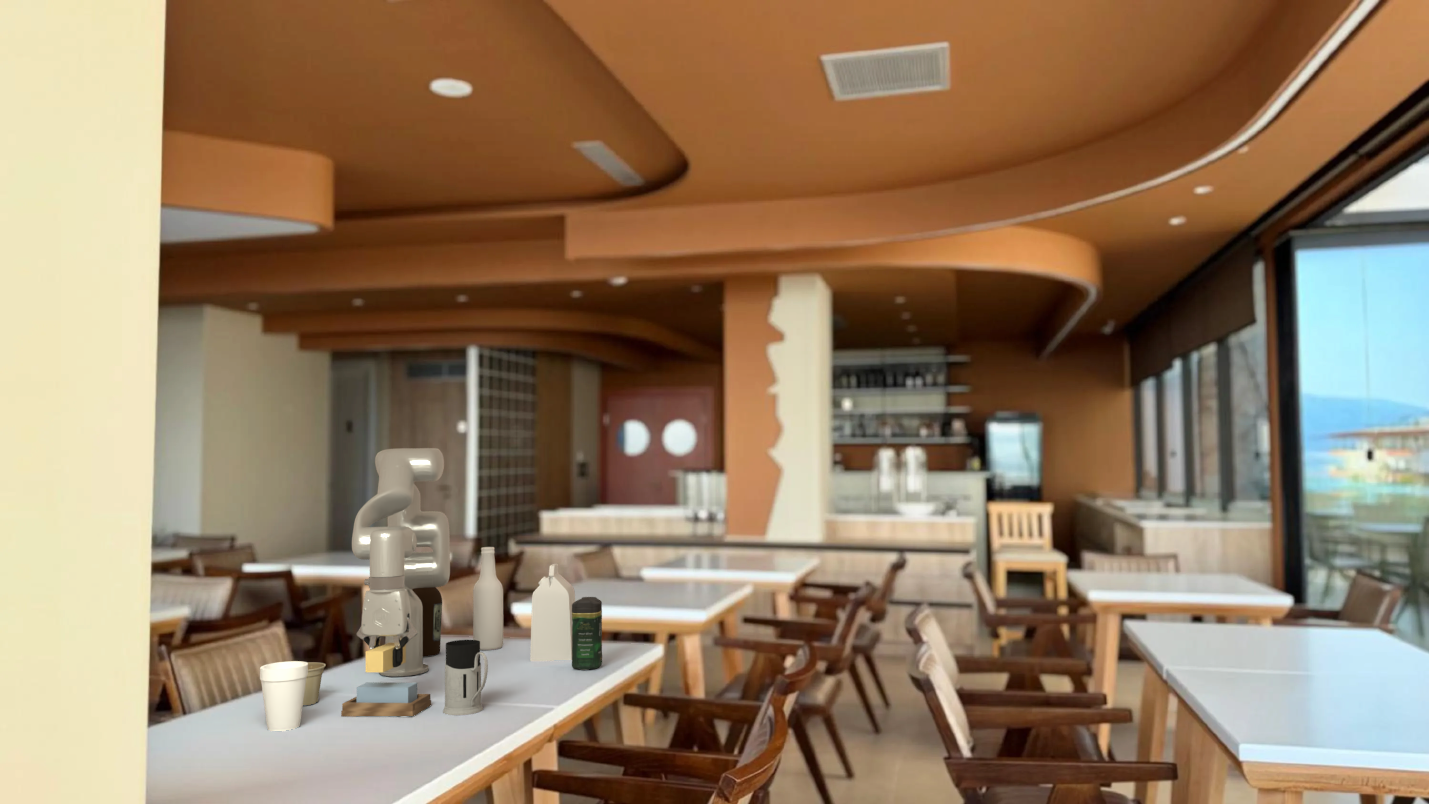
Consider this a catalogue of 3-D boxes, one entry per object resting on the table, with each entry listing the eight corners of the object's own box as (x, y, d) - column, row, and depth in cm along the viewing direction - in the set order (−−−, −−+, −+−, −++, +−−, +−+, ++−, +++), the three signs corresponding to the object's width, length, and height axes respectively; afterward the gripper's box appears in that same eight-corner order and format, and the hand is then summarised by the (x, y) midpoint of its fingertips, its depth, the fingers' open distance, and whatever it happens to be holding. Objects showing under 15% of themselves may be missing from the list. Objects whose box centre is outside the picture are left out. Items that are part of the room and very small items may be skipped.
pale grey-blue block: (356, 707, 224) (356, 687, 225) (366, 702, 229) (366, 682, 230) (408, 708, 223) (408, 687, 223) (417, 702, 228) (417, 682, 228)
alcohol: (468, 650, 298) (468, 548, 300) (480, 645, 307) (479, 546, 309) (496, 650, 297) (496, 548, 298) (507, 645, 305) (507, 546, 307)
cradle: (341, 716, 222) (341, 703, 222) (363, 704, 232) (363, 692, 232) (412, 717, 220) (412, 704, 220) (431, 705, 230) (431, 693, 230)
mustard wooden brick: (365, 672, 220) (365, 651, 221) (389, 662, 232) (389, 642, 232) (383, 672, 220) (383, 651, 220) (405, 662, 232) (405, 642, 232)
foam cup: (317, 723, 216) (317, 662, 217) (286, 734, 207) (286, 670, 208) (281, 720, 219) (282, 660, 220) (249, 731, 210) (249, 668, 211)
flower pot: (334, 700, 237) (334, 663, 237) (302, 710, 228) (303, 671, 229) (305, 697, 241) (305, 661, 241) (272, 706, 232) (273, 668, 233)
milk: (571, 660, 280) (570, 566, 282) (530, 661, 280) (529, 567, 282) (577, 652, 292) (577, 562, 294) (538, 653, 292) (537, 562, 294)
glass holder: (470, 703, 231) (469, 637, 232) (504, 713, 221) (503, 644, 222) (435, 710, 225) (435, 642, 226) (469, 721, 215) (468, 650, 216)
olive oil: (400, 658, 288) (400, 570, 290) (410, 651, 299) (409, 566, 300) (437, 657, 289) (437, 569, 290) (446, 650, 299) (445, 565, 301)
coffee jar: (599, 670, 266) (598, 599, 267) (569, 670, 266) (568, 600, 267) (605, 663, 275) (604, 594, 277) (576, 663, 276) (575, 595, 277)
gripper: (344, 586, 225) (343, 669, 224) (415, 585, 223) (415, 669, 222) (359, 582, 232) (359, 662, 231) (429, 581, 230) (429, 663, 229)
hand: (387, 665), depth 226 cm, fingers closed on mustard wooden brick, 4 cm apart
